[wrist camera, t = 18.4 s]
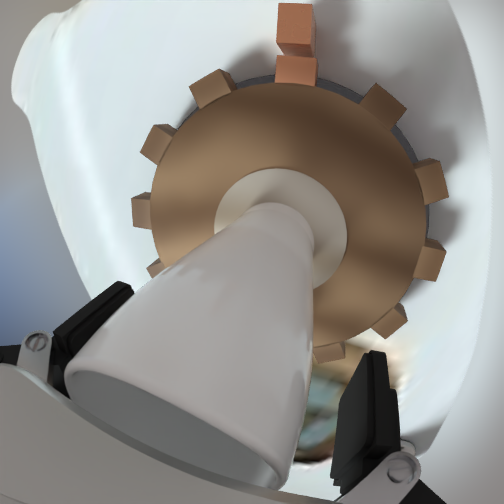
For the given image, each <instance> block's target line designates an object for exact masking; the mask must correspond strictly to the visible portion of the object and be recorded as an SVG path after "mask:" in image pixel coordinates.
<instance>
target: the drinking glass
mask: <svg viewBox="0 0 504 504" xmlns="http://www.w3.org/2000/svg"><path fill="white" fill-rule="evenodd" d="M313 254H314V236H313V232H312V229H311V227H310V225H309V223H308V222H307V220H306V219H305V218H304V217H303V216H302V215H301V214H300V213H299V212H298V211H297V210H295V209H294V208H292V207H290V206H288V205H285V204H282V203H276V202H266V203H261V204H257V205H255V206H253V207H251V208H249V209H248V210H246V211H245V212H244V213H243V214H242V215H241V216H240V217H239V218H238V219H236V220H235V221H233V222H232V223H230V224H229V225H228V226H226V227H225V228H223V229H222V230H220V231H219V232H217V233H216V234H215V235H213V236H212V237H210V238H209V239H207V240H206V241H204V242H203V243H201V244H200V245H198V246H197V247H196V248H194V249H193V250H191V251H190V252H188V253H187V254H185V255H184V256H183V257H181V258H180V259H178V260H177V261H175V262H174V263H173V264H171V265H170V266H168V267H167V268H166V269H164V270H163V271H161V272H160V273H159V274H157V275H156V276H155V277H154V278H152V279H151V280H150V281H148V282H147V283H146V284H145V285H144V286H142V287H141V288H140V289H139V290H138V291H137V292H136V293H134V294H133V295H132V296H131V297H130V298H129V299H128V300H127V301H126V302H125V303H124V304H123V305H121V306H120V307H119V308H118V309H117V310H116V311H115V312H114V313H113V314H112V315H111V316H110V317H109V318H108V319H107V320H106V321H105V322H104V323H103V324H102V326H101V327H100V328H99V329H98V330H97V331H96V332H95V333H94V334H93V335H92V336H91V338H90V339H89V340H88V341H87V342H86V343H85V344H84V346H83V347H82V348H81V349H80V350H79V352H78V353H77V354H76V355H75V356H74V357H73V359H72V360H71V361H70V362H69V363H68V364H67V366H66V368H65V371H64V381H65V386H66V389H67V392H68V394H69V396H70V398H71V400H72V401H73V402H74V403H76V404H77V405H79V406H80V407H82V408H83V409H85V410H86V411H88V412H89V413H91V414H92V415H94V416H96V417H97V418H99V419H101V420H102V421H104V422H106V423H107V424H109V425H111V426H112V427H114V428H116V429H118V430H119V431H121V432H123V433H125V434H127V435H129V436H130V437H132V438H134V439H136V440H138V441H140V442H142V443H144V444H146V445H148V446H150V447H152V448H154V449H157V450H159V451H161V452H163V453H165V454H168V455H170V456H172V457H175V458H177V459H179V460H182V461H184V462H187V463H189V464H192V465H194V466H197V467H200V468H202V469H205V470H208V471H211V472H214V473H217V474H220V475H223V476H226V477H229V478H232V479H236V480H239V481H242V482H246V483H250V484H253V485H257V486H261V487H265V488H269V489H274V490H279V489H281V488H282V487H283V486H284V485H285V483H286V482H287V480H288V477H289V473H290V469H291V466H292V463H293V460H294V456H295V453H296V450H297V446H298V442H299V439H300V435H301V431H302V426H303V422H304V417H305V412H306V407H307V402H308V396H309V390H310V383H311V374H312V363H313V340H314V303H313Z"/></svg>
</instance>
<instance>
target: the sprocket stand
mask: <svg viewBox="0 0 504 504" xmlns="http://www.w3.org/2000/svg"><path fill="white" fill-rule="evenodd" d="M315 35H316V23H315V18H314V12H313V7H312V4H300V3H279V5H278V22H277V38H276V43H277V45H278V46H279V48H280V49H281V51H282V52H283V54H284V55H285V56H297V57H308V58H314V56H315ZM266 83H275V75H269V76H263V77H258V78H253V79H249V80H246V81H243V82H240V83H238V84H235V85H236V87H237V89H241V88H245V87H248V86H252V85H258V84H266ZM316 87H319V88H322V89H325V90H328V91H331V92H334V93H337V94H339V95H341V96H343V97H345V98H347V99H349V100H351V101H353V102H355V103H357V104H359V103H360V101H361V100H362V99H363V98H364V97H362V96H361V95H359V94H357V93H356V92H354V91H352V90H350V89H348V88H345V87H343V86H341V85H338V84H336V83H334V82H330V81H327V80H323V79H319V78H317V85H316ZM198 110H199V107H197V108H196V109H195V110H194V111H193V112H192V113H191V114H190V115H189V116H188V117H187V118H186V120H185V121H184V122H183V123H182V125H183V124H184V123H185V122H186V121H187V120H188V119H189V118H190V117H191V116H192V115H193V114H195V113H196V112H197V111H198ZM182 125H181V126H182ZM181 126H180V127H181ZM180 127H179V129H180ZM179 129H178V130H179ZM390 131H391V132H392V134H393V135H394V136H395V138H396V139H397V140H398V142H399V143H400V144H401V146H402V147H403V148H404V150H405V151H406V153H407V155H408V157H409V159H410V161H411V162H412V164H413V163H416V162H418V160H417V158H416V155H415V153H414V151H413V149H412V148H411V146H410V144H409V143H408V141H407V140H406V138H405V137H404V135H403V134H402V132H401V131H400V130H399V128H398V127H397V126H396V125H394V126H393V128H392V129H391V130H390ZM425 209H426V235H425V238H427V233H428V227H429V204H428V205H425Z"/></svg>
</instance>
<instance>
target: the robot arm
mask: <svg viewBox="0 0 504 504" xmlns="http://www.w3.org/2000/svg"><path fill="white" fill-rule="evenodd" d="M133 294H134V291H133V289H132V287H131V285H129V284H126V283H124V282H121V281H117V282H115V283H114V284H113V285H111V286H110V287H109V288H107V289H106V290H105V291H103V292H102V293H101V294H99V295H98V296H97V297H95V298H94V299H93V300H92V301H90V302H89V303H88V304H86V305H85V306H84V307H83V308H81V309H80V310H79V311H78V312H76V313H75V314H74V315H73V316H71V317H70V318H69V319H68V320H66V321H65V322H64V323H63V324H61V325H60V326H59V327H58V328H56V329H55V330H54V331H53V334H54V336H53V337H51V335H50V334H49V333H48V332H45V331H40V330H39V331H34V332H31V333H29V334H28V335H27V336H26V337H25V338H24V339H23V342H22V344H21V345H11V346H0V504H446V503H445V502H444V501H443V500H442V499H441V498H440V497H439V496H437V495H436V494H435V493H434V492H433V491H432V490H431V489H430V488H428V487H427V486H426V485H425V484H424V483H423V482H422V481H421V480H420V479H419V477H420V474H421V466H420V463H419V461H418V459H417V458H416V457H415V454H416V453H415V447H414V445H413V444H411V443H409V442H407V441H403V440H400V423H399V410H398V400H397V393H396V390H395V389H390V384H389V375H388V366H387V358H386V353H385V352H379V351H374V350H371V351H370V352H369V353H364V355H363V356H362V358H361V361H360V363H359V365H358V367H357V368H356V370H355V372H354V374H353V376H352V378H351V380H350V382H349V384H348V386H347V387H346V389H345V391H344V393H343V395H342V397H341V399H340V402H339V409H338V419H337V428H336V437H335V445H334V452H333V459H332V466H331V473H330V478H332V479H334V483H333V486H341V487H340V493H341V494H342V495H341V496H339V497H338V498H337V499H336V500H334V501H330V500H324V499H319V498H313V497H308V496H303V495H297V494H292V493H287V492H283V491H278V490H274V489H269V488H265V487H261V486H257V485H253V484H250V483H246V482H242V481H239V480H236V479H232V478H229V477H226V476H223V475H220V474H217V473H214V472H211V471H208V470H205V469H202V468H200V467H197V466H194V465H192V464H189V463H187V462H184V461H182V460H179V459H177V458H175V457H172V456H170V455H168V454H165V453H163V452H161V451H159V450H157V449H154V448H152V447H150V446H148V445H146V444H144V443H142V442H140V441H138V440H136V439H134V438H132V437H130V436H129V435H127V434H125V433H123V432H121V431H119V430H118V429H116V428H114V427H112V426H111V425H109V424H107V423H106V422H104V421H102V420H101V419H99V418H97V417H96V416H94V415H92V414H91V413H89V412H88V411H86V410H85V409H83V408H82V407H80V406H79V405H77V404H76V403H74V402H73V401H72V400H71V398H70V396H69V394H68V392H67V389H66V386H65V381H64V371H65V368H66V366H67V364H68V363H69V362H70V361H71V360H72V359H73V357H74V356H75V355H76V354H77V353H78V352H79V350H80V349H81V348H82V347H83V346H84V344H85V343H86V342H87V341H88V340H89V339H90V338H91V336H92V335H93V334H94V333H95V332H96V331H97V330H98V329H99V328H100V327H101V326H102V324H103V323H104V322H105V321H106V320H107V319H108V318H109V317H110V316H111V315H112V314H113V313H114V312H115V311H116V310H117V309H118V308H119V307H120V306H121V305H123V304H124V303H125V302H126V301H127V300H128V299H129V298H130V297H131V296H132V295H133Z"/></svg>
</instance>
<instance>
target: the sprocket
mask: <svg viewBox="0 0 504 504" xmlns="http://www.w3.org/2000/svg"><path fill="white" fill-rule="evenodd" d="M317 73H318V63H317V58H308V57H297V56H282V55H277V61H276V73H275V83H266V84H258V85H252V86H248V87H245V88H241V89H237V87H236V85H235V83H234V81H233V80H232V78H231V76H230V74H229V73H227V72H225V71H223V70H221V69H217V70H216V71H214V72H212V73H210V74H209V75H207V76H205V77H204V78H202V79H200V80H199V81H197V82H195V83H194V84H192V85H190V86H189V88H190V90H191V92H192V94H193V96H194V98H195V100H196V102H197V105H198V107H199V110H198V111H197V112H196V113H195V114H193V115H192V116H191V117H190V118H189V119H188V120H187V121H186V122H185V123H184V124H183V125H182V126H181V127H180V129H179V130H176V129H175V128H173V127H172V126H170V125H168V124H159V125H153V127H152V129H151V131H150V133H149V135H148V137H147V139H146V141H145V143H144V145H143V147H142V149H141V151H140V153H141V154H143V155H144V156H145V157H147V158H148V159H149V160H151V161H152V162H154V163H155V164H156V165H158V166H157V169H156V172H155V176H154V180H153V183H152V190H151V193H148V192H145V193H142V194H140V195H138V196H135V197H133V198H131V202H132V218H133V227H139V228H144V229H150V230H152V234H153V238H154V243H155V247H156V249H157V252H158V255H159V258H158V259H157V260H156V261H154V262H153V263H152V264H151V265H150V266H148V267H147V268H146V269H147V270H148V272H149V274H150V276H151V277H152V278H154V277H155V276H156V275H157V274H159V273H160V272H161V271H163V270H164V269H166V268H167V267H168V266H170V265H171V264H173V263H174V262H175V261H177V260H178V259H180V258H181V257H183V256H184V255H185V254H187V253H188V252H190V251H191V250H193V249H194V248H196V247H197V246H198V245H200V244H201V243H203V242H204V241H206V240H207V239H209V238H210V237H212V236H213V235H215V234H216V233H217V232H219V231H220V230H222V229H223V228H225V227H226V226H228V225H229V224H230V223H232V222H233V221H235V220H236V219H238V218H239V217H240V216H241V215H242V214H243V213H244V212H245V211H246V210H248V209H249V208H251V207H253V206H255V205H257V204H261V203H266V202H276V203H282V204H285V205H288V206H290V207H292V208H294V209H295V210H297V211H298V212H299V213H300V214H301V215H302V216H303V217H304V218H305V219H306V220H307V222H308V223H309V225H310V227H311V229H312V232H313V236H314V254H313V303H314V340H313V353H314V355H315V358H316V360H317V362H318V364H319V363H324V362H329V361H334V360H339V359H344V358H345V340H347V339H350V338H352V337H354V336H356V335H358V334H360V333H362V332H364V331H365V330H367V329H369V328H372V329H373V330H374V331H375V332H377V333H378V334H379V335H381V336H382V337H383V338H384V339H386V338H388V337H389V336H390V335H391V334H393V333H394V332H395V331H396V330H398V329H399V328H400V327H401V326H402V325H404V324H405V323H406V322H407V321H408V320H407V316H406V313H405V310H404V306H403V305H401V304H400V303H399V300H400V299H401V298H402V297H403V295H404V294H405V292H406V291H407V289H408V287H409V286H410V284H411V282H412V280H413V279H414V278H418V279H423V280H429V281H434V282H436V280H437V277H438V274H439V272H440V269H441V266H442V263H443V260H444V258H445V255H446V252H447V251H446V250H445V249H444V248H443V246H442V245H441V244H440V243H439V242H438V241H437V240H433V239H428V238H425V235H426V209H425V205H428V204H430V203H433V202H436V201H439V200H442V199H445V198H448V197H449V195H448V190H447V186H446V182H445V178H444V174H443V171H442V167H441V164H440V161H437V160H434V159H431V158H428V159H425V160H422V161H419V162H416V163H413V164H412V162H411V161H410V159H409V157H408V155H407V153H406V151H405V150H404V148H403V147H402V146H401V144H400V143H399V142H398V140H397V139H396V138H395V136H394V135H393V134H392V132H391V131H390V130H391V129H392V128H393V126H394V125H395V124H396V122H397V121H398V120H399V119H400V117H401V116H402V115H403V114H404V112H405V111H406V110H407V109H406V108H405V107H404V106H403V105H402V104H401V103H400V102H399V101H397V100H396V99H395V98H394V97H393V96H392V95H390V94H389V93H388V92H387V91H386V90H384V89H383V88H382V87H381V86H379V85H378V84H377V83H375V84H374V86H373V87H372V88H371V89H370V90H369V91H368V93H367V94H366V95H365V96H364V98H363V99H362V100H361V101H360V103H359V104H357V103H355V102H353V101H351V100H349V99H347V98H345V97H343V96H341V95H339V94H337V93H334V92H331V91H328V90H325V89H322V88H319V87H316V85H317Z"/></svg>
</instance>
